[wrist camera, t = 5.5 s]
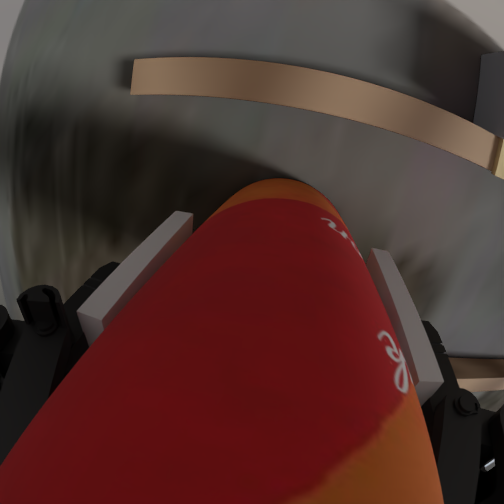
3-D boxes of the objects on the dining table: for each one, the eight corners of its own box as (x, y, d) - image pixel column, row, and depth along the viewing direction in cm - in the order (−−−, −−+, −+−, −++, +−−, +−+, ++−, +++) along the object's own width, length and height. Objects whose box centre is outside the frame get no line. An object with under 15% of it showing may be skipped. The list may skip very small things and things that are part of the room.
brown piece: (154, 325, 18) (138, 351, 16) (157, 62, 10) (128, 55, 8) (541, 369, 15) (550, 387, 13) (614, 233, 8) (629, 246, 6)
